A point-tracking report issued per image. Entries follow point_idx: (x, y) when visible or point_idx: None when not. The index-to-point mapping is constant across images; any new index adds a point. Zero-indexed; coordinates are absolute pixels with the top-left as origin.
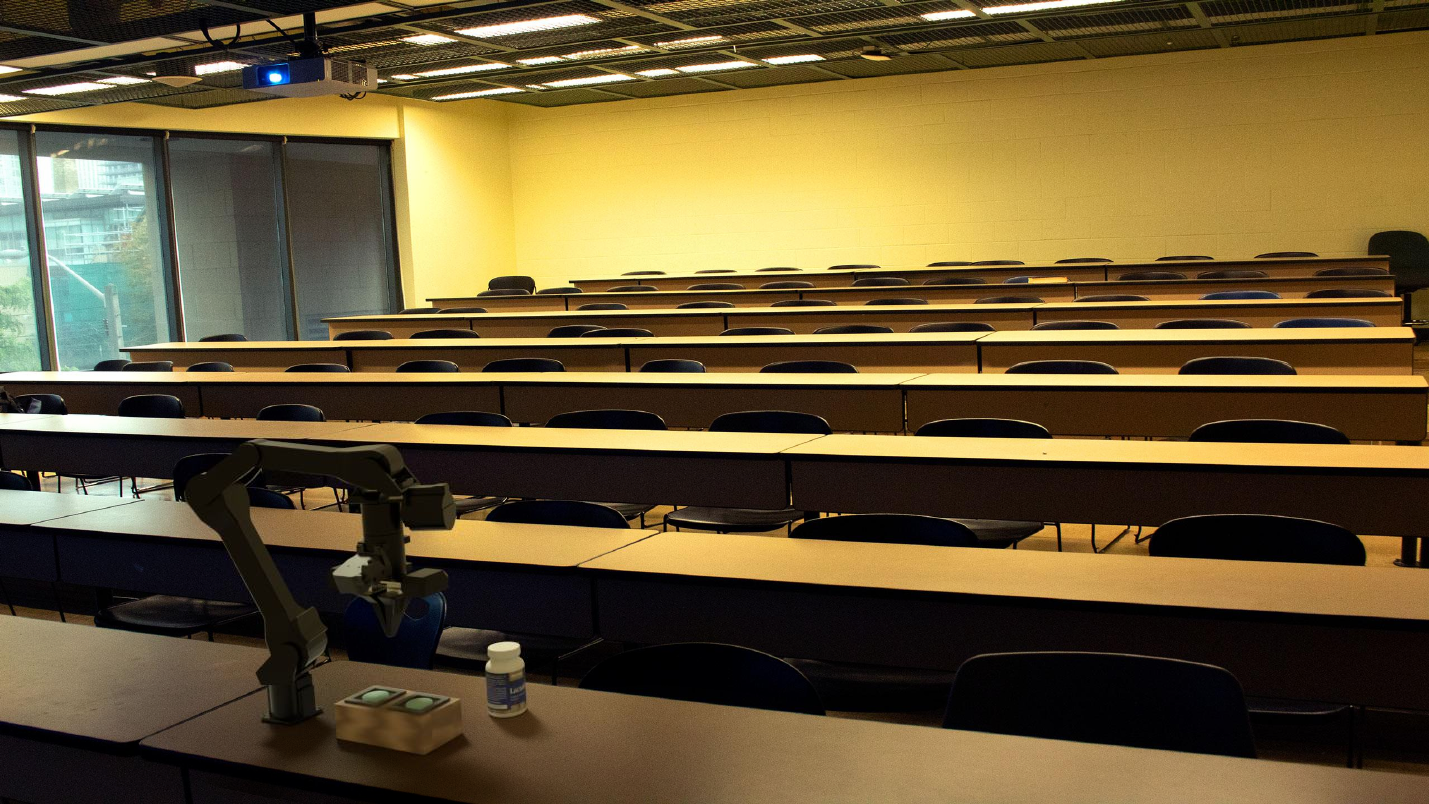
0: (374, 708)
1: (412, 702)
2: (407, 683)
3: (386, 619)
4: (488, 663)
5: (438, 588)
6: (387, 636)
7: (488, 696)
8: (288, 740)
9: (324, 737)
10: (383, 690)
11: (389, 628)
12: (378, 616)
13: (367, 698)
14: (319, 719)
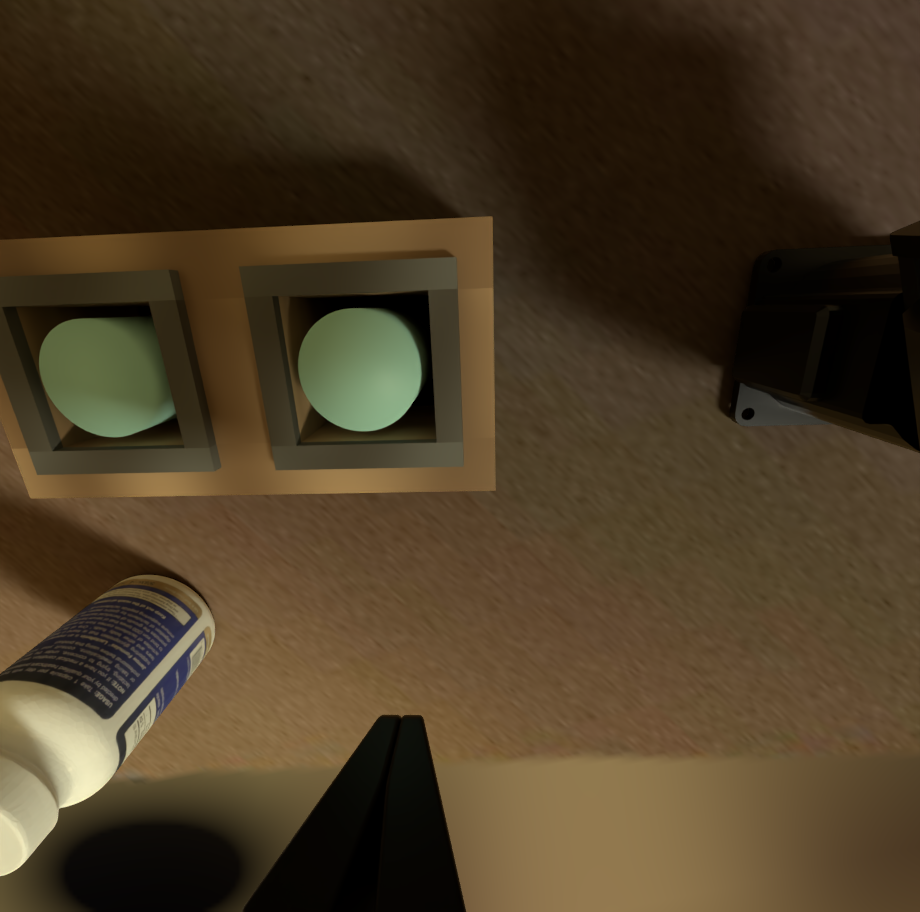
0: (250, 258)
1: (126, 370)
2: (609, 682)
3: (338, 874)
4: (45, 726)
5: None
6: (419, 715)
7: (134, 616)
8: (663, 136)
9: (541, 228)
10: (384, 441)
11: (349, 774)
12: (446, 907)
13: (360, 324)
14: (689, 355)
